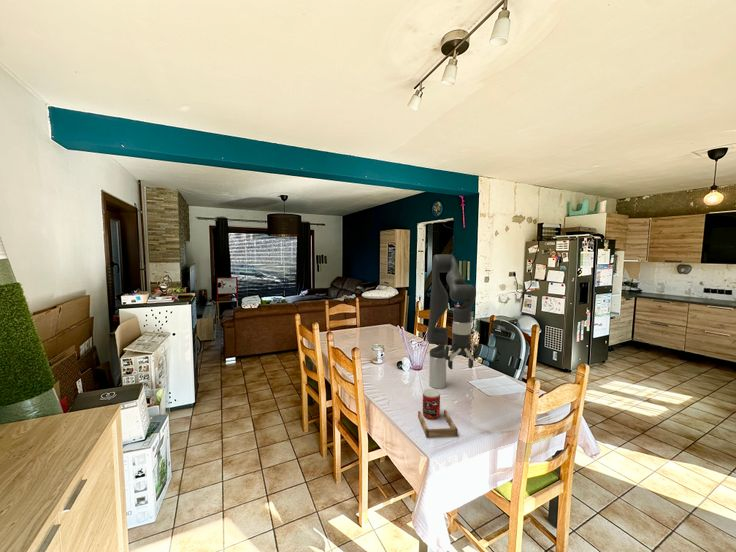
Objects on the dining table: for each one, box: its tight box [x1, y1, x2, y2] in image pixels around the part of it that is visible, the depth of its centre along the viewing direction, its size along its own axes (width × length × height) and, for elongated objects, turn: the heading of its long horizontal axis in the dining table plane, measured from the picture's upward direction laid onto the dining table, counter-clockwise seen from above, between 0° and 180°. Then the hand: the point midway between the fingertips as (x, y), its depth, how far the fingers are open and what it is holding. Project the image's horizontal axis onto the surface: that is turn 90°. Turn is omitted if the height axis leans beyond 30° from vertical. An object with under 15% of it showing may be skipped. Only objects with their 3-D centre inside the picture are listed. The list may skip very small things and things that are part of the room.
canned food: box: [422, 388, 441, 420], centre depth 142 cm, size 8×8×11 cm
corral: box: [417, 409, 459, 439], centre depth 133 cm, size 15×13×3 cm
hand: (460, 368), depth 131 cm, fingers open, 8 cm apart
